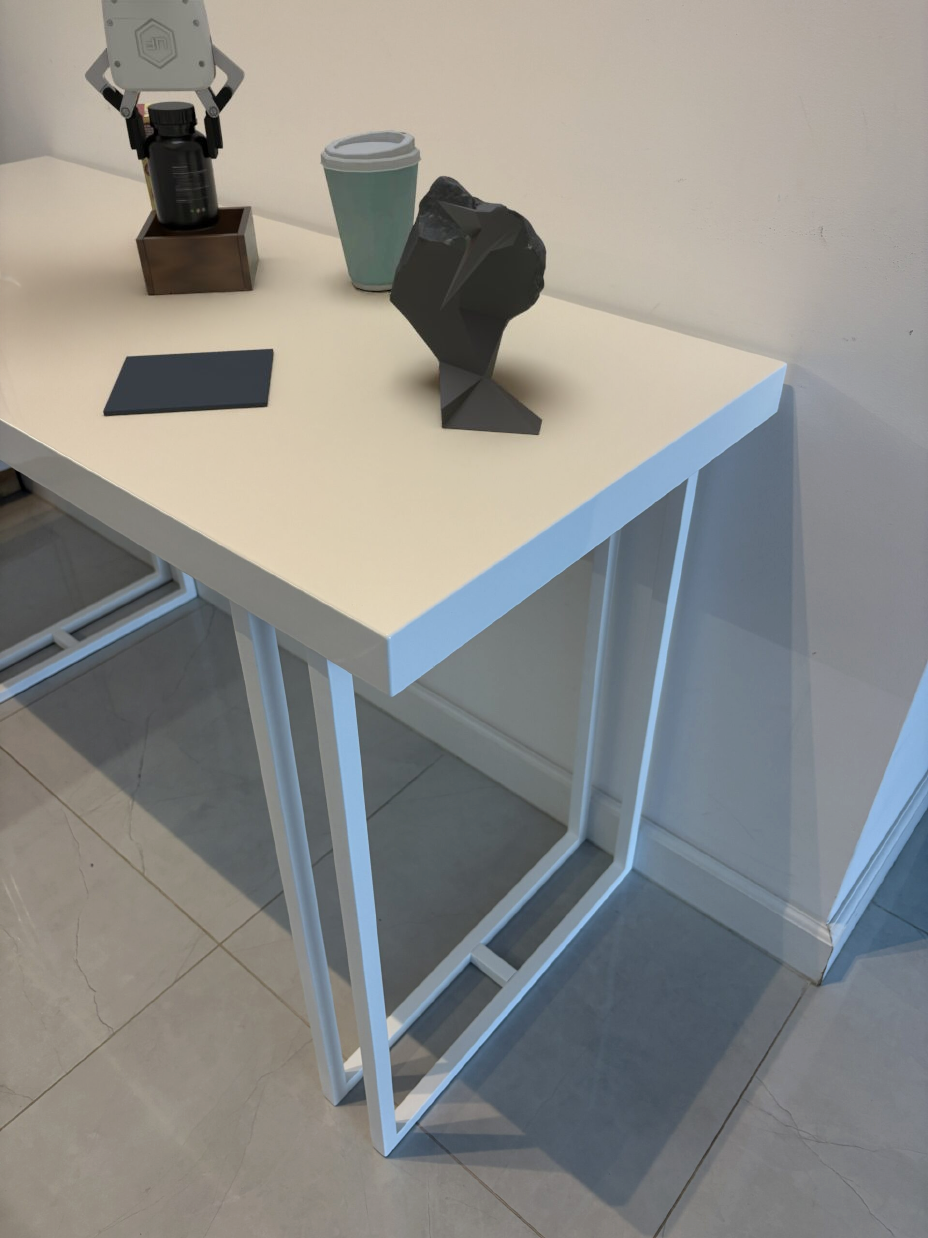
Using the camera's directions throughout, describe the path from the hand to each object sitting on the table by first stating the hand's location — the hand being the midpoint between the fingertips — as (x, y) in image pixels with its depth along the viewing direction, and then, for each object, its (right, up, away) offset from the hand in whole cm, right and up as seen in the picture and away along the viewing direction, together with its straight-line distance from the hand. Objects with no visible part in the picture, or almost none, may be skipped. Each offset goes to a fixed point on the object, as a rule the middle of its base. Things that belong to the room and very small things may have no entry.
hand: (178, 154), depth 101 cm
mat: (+6, -28, -15) cm, 33 cm away
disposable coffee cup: (+21, -12, +6) cm, 25 cm away
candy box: (-6, -3, +18) cm, 19 cm away
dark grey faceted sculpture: (+31, -30, -17) cm, 46 cm away
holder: (+1, -10, +8) cm, 13 cm away
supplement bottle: (0, -6, +5) cm, 7 cm away
